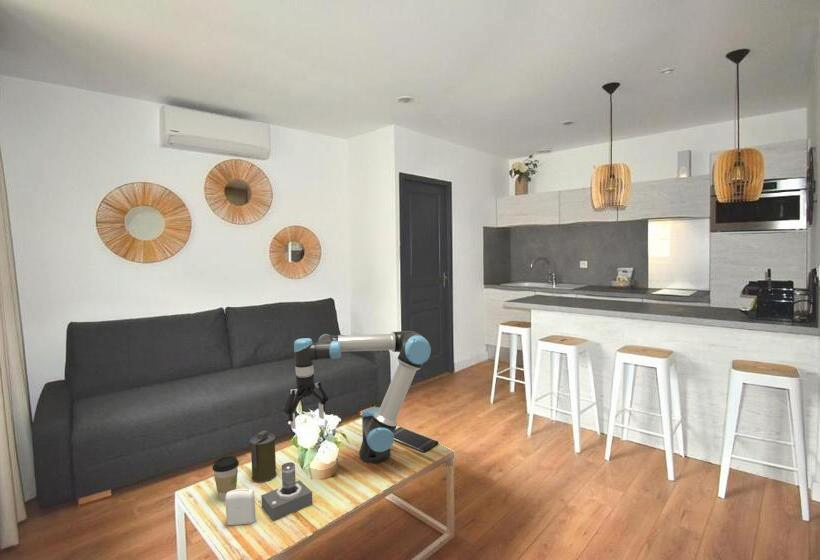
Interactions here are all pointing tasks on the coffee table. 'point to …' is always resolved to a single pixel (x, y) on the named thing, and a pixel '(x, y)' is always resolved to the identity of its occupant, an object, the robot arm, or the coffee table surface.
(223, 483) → the coffee cup
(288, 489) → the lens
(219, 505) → the coffee table surface
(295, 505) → the grey holder base
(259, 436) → the canister
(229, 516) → the photo printer
